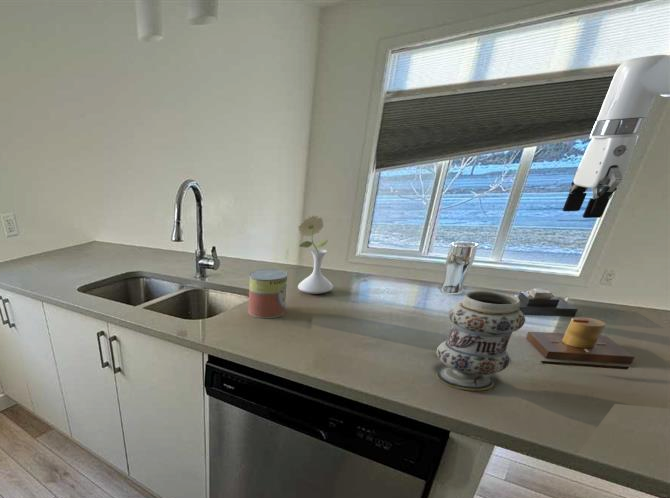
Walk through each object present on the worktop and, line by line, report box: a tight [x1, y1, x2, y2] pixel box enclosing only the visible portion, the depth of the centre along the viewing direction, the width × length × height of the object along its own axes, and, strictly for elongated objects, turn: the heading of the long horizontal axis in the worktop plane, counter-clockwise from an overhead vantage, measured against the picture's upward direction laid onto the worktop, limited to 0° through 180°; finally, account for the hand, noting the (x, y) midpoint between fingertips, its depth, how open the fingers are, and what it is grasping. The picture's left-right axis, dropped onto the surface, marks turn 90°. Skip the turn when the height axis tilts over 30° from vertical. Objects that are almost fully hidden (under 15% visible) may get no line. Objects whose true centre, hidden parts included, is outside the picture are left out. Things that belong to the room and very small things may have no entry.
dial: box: [562, 316, 606, 348], centre depth 87 cm, size 5×5×5 cm
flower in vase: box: [297, 215, 334, 295], centre depth 135 cm, size 13×11×25 cm
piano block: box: [514, 291, 578, 318], centre depth 112 cm, size 14×10×4 cm
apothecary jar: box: [435, 290, 526, 392], centre depth 81 cm, size 12×12×18 cm
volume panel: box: [525, 331, 636, 370], centre depth 89 cm, size 14×11×3 cm
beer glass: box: [439, 241, 479, 296], centre depth 126 cm, size 7×7×15 cm
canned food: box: [247, 268, 289, 319], centre depth 125 cm, size 11×11×12 cm
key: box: [528, 288, 553, 298], centre depth 111 cm, size 4×4×2 cm
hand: (580, 214), depth 95 cm, fingers open, 9 cm apart
